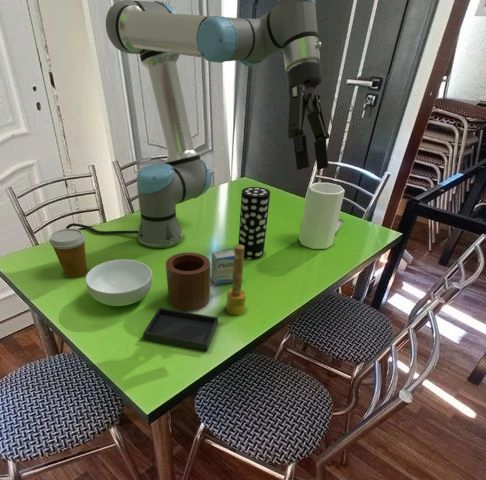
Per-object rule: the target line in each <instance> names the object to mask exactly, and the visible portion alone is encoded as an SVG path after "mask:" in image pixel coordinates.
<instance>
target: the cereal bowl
mask: <svg viewBox="0 0 486 480" xmlns="http://www.w3.org/2000/svg"><path fill="white" fill-rule="evenodd" d="M85 284H86V288H87V290H88V293H90V296H91V297H92V298H93V299H94V300H95V301H97V302H99V303H100V304H103V305H106V306H110V307H123V306H129V305H130V306H131V305H132V304H135V303H138V302H139V301H142V299H144V298H145V297H146V296H147V295H148V294H149V292H150V291H151V288H152V285H153V272H152V269H151V268H150V267H149V266H148V264H145V263H144V262H142V261H138V260H134V259H125V258H123V259H113V260H108V261H104V262H102V263H99V264H98V265H95V266H94V267H92V268H91V269H90V270H89V271H87V273H86V275H85Z"/></svg>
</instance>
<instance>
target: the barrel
mask: <svg viewBox="0 0 486 480" xmlns="http://www.w3.org/2000/svg"><path fill="white" fill-rule="evenodd" d="M165 271H166V272H165V273H166V286H167V300H168V303H169V304H170V306H171V307H172V308H174V309H175V310H177V311H183V312H195V311H198V310H201V309H203V308H205V307H206V306H207V305H208V304H209V303H210V297H211V260H210V259H209V258H208V257H207V256H205V255H204V254H200V253H199V252H191V251H190V252H179V253H176V254H173V255H171V256H170V257H168V258H167V260H166V261H165Z"/></svg>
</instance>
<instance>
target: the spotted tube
mask: <svg viewBox="0 0 486 480" xmlns="http://www.w3.org/2000/svg"><path fill="white" fill-rule="evenodd" d="M240 197H241V198H240V213H239V228H238V229H239V230H238V231H239V232H238V242H237V243H238V244H240V245H243V246H244V259H245V260H259V259H262V258H263V257H264V253H265V244H266V238H267V237H266V236H267V229H268V228H267V226H268V217H269V209H270V200H271V191H270V189H268V188H265V187H260V186H248V187H244V188H243V189H242V190H241V196H240ZM238 244H237V245H238Z"/></svg>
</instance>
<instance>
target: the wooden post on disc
mask: <svg viewBox="0 0 486 480" xmlns="http://www.w3.org/2000/svg"><path fill="white" fill-rule="evenodd" d="M234 249H235V251H234V269H233V283H232V288H231V289H229V290H228V291H227V293H226V312H227V313H228V314H229V315H232V316H240V315H242V314H244V312H245V306H246V296H247V294H246V292H245V291H244V290H242V286H243V285H242V284H243V272H244V271H243V270H244V259H245V258H244V246H243V245H240V244H236V245H234Z"/></svg>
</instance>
